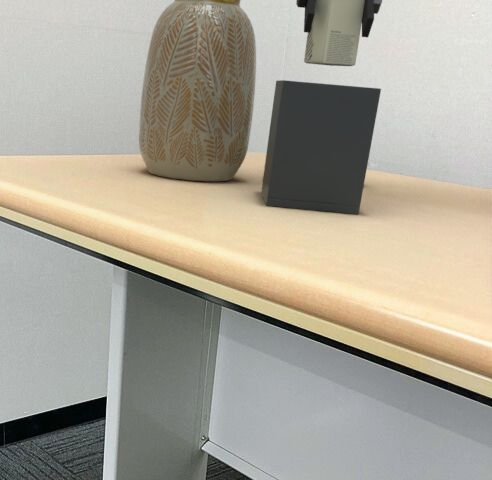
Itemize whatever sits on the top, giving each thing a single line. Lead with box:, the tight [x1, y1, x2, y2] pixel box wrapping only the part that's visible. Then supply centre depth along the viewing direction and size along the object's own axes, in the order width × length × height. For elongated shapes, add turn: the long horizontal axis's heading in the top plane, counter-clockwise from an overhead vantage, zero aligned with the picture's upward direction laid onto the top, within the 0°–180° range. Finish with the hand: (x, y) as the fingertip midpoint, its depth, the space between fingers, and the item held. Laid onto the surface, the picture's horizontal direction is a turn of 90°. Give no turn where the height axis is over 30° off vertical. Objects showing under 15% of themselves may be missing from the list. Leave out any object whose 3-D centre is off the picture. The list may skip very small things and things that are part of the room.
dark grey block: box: [260, 79, 382, 215], centre depth 98 cm, size 12×12×15 cm
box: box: [303, 0, 365, 67], centre depth 92 cm, size 5×4×13 cm
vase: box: [138, 0, 257, 183], centre depth 114 cm, size 17×17×27 cm
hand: (338, 25), depth 89 cm, fingers closed on box, 6 cm apart
